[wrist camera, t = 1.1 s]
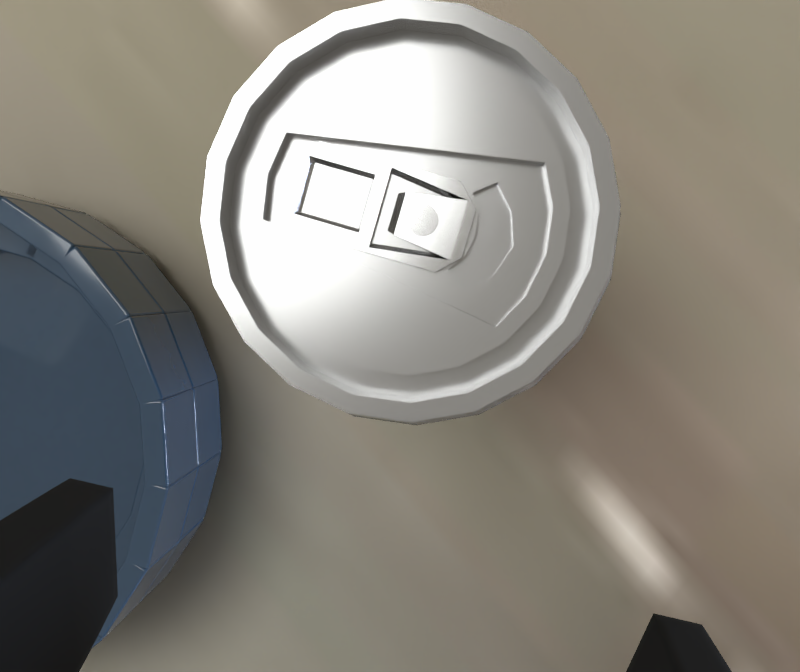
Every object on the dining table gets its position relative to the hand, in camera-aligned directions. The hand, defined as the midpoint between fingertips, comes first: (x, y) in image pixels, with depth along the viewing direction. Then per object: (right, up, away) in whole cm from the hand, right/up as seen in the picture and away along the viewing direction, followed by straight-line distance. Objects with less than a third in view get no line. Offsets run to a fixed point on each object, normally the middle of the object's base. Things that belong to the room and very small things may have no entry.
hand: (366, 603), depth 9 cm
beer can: (+1, +6, +11) cm, 13 cm away
